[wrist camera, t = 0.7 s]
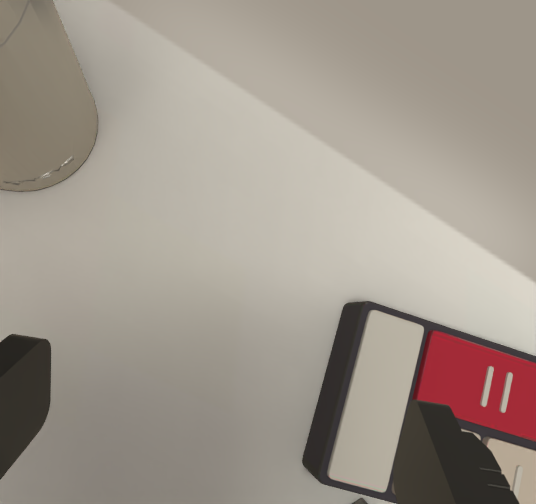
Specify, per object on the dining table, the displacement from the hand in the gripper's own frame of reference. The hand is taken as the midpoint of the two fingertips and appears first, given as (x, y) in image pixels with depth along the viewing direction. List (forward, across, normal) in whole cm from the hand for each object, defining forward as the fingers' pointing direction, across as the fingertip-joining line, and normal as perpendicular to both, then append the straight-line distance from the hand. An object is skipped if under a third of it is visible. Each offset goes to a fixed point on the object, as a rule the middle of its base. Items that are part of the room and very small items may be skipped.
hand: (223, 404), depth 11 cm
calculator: (+21, -12, +12) cm, 27 cm away
